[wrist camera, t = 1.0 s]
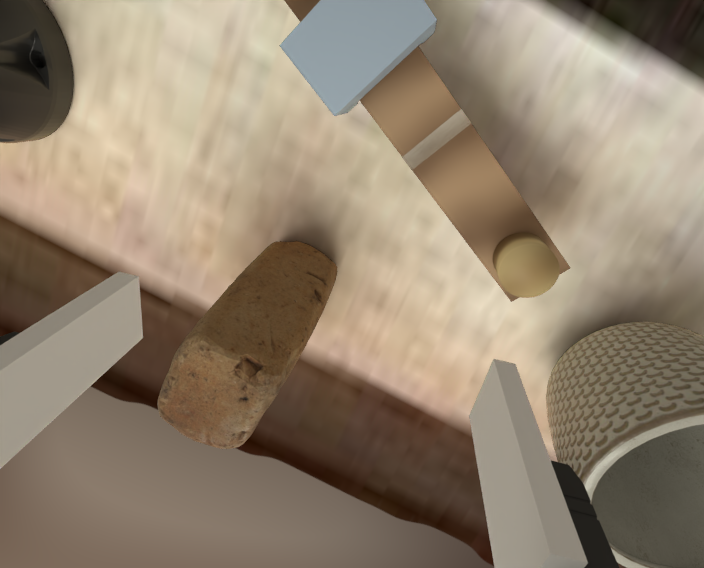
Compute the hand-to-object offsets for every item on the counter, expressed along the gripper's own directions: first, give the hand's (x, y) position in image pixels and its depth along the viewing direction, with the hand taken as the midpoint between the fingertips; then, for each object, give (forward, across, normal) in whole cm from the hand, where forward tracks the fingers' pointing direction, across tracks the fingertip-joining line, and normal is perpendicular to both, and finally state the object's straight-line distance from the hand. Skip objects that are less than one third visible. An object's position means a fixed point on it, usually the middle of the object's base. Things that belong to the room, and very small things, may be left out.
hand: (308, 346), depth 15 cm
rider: (+20, -2, +11) cm, 23 cm away
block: (+26, -6, -11) cm, 29 cm away
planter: (+25, +28, -12) cm, 40 cm away
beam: (+26, +4, +6) cm, 27 cm away
